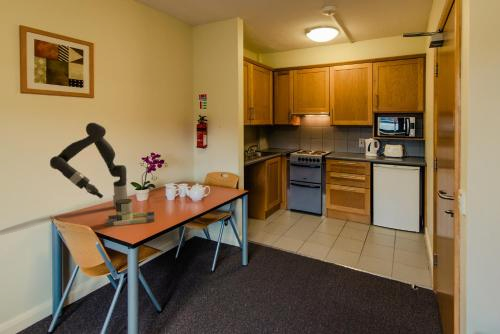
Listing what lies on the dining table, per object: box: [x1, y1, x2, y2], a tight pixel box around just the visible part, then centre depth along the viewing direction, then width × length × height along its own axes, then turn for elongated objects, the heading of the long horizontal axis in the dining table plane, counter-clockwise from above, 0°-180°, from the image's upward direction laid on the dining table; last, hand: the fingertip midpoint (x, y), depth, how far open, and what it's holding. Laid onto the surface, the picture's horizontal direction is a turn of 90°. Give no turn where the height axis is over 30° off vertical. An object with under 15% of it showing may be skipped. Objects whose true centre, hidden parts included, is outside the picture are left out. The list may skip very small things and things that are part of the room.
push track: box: [104, 211, 155, 227], centre depth 202 cm, size 30×16×2 cm, turn 108°
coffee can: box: [115, 198, 134, 221], centre depth 200 cm, size 10×10×14 cm
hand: (102, 197), depth 195 cm, fingers closed
